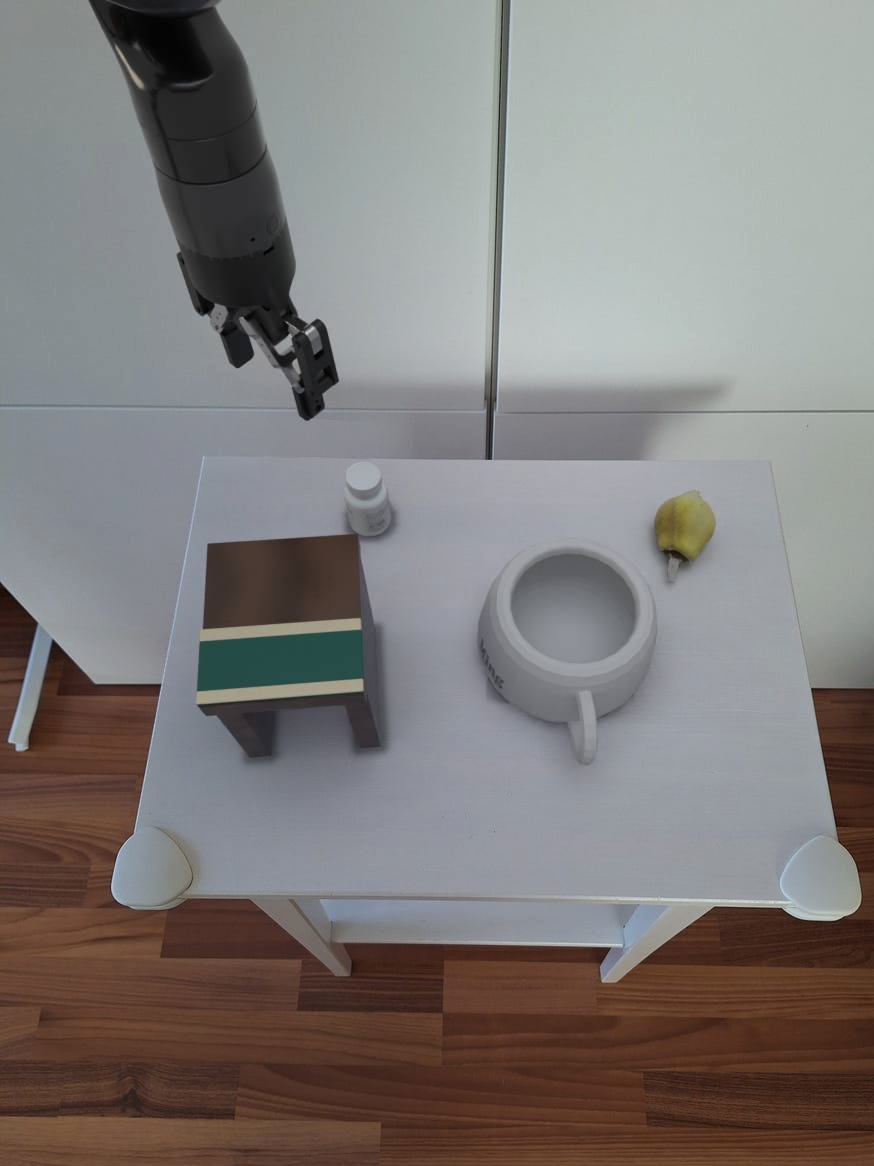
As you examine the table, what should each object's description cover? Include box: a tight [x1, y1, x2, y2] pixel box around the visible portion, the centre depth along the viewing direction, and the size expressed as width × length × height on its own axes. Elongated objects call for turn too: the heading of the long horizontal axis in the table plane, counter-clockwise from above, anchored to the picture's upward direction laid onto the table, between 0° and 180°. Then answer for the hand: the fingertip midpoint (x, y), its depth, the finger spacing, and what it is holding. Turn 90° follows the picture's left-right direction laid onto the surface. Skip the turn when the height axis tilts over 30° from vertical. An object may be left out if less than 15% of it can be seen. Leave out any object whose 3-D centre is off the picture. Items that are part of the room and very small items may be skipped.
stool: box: [198, 533, 382, 758], centre depth 68 cm, size 12×14×16 cm
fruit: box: [653, 489, 717, 584], centre depth 81 cm, size 6×6×10 cm
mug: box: [476, 536, 658, 767], centre depth 72 cm, size 21×17×10 cm
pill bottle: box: [343, 461, 392, 537], centre depth 80 cm, size 4×4×8 cm
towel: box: [195, 618, 364, 708], centre depth 59 cm, size 12×6×1 cm, turn 96°
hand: (277, 387), depth 68 cm, fingers open, 8 cm apart
